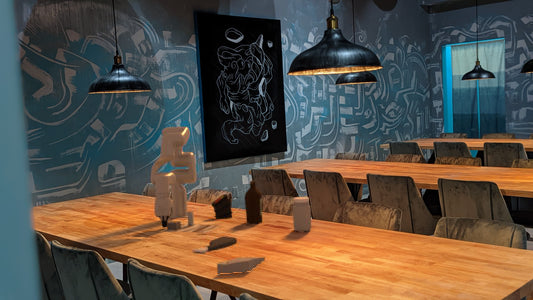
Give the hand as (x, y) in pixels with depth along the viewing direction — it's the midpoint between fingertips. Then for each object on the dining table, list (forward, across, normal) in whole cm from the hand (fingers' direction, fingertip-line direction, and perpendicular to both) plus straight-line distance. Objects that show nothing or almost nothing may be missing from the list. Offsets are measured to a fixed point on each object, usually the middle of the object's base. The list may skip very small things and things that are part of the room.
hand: (165, 227), depth 318 cm
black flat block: (+3, +19, +38) cm, 43 cm away
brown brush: (+3, +46, -30) cm, 55 cm away
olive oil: (+2, +44, +30) cm, 53 cm away
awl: (+1, +11, +11) cm, 16 cm away
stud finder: (+1, +6, 0) cm, 6 cm away
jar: (+3, +79, +13) cm, 80 cm away
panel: (+2, +15, +4) cm, 16 cm away
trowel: (+3, +74, -61) cm, 96 cm away
